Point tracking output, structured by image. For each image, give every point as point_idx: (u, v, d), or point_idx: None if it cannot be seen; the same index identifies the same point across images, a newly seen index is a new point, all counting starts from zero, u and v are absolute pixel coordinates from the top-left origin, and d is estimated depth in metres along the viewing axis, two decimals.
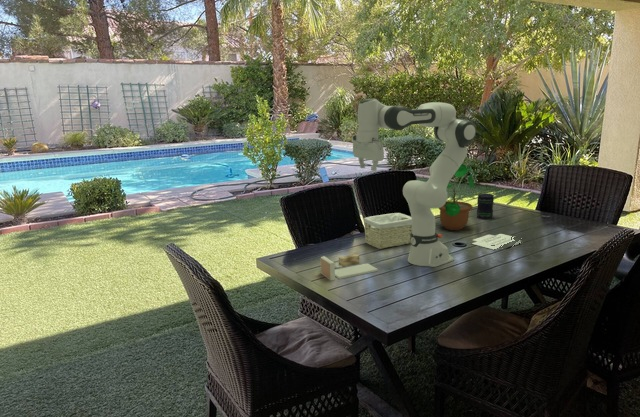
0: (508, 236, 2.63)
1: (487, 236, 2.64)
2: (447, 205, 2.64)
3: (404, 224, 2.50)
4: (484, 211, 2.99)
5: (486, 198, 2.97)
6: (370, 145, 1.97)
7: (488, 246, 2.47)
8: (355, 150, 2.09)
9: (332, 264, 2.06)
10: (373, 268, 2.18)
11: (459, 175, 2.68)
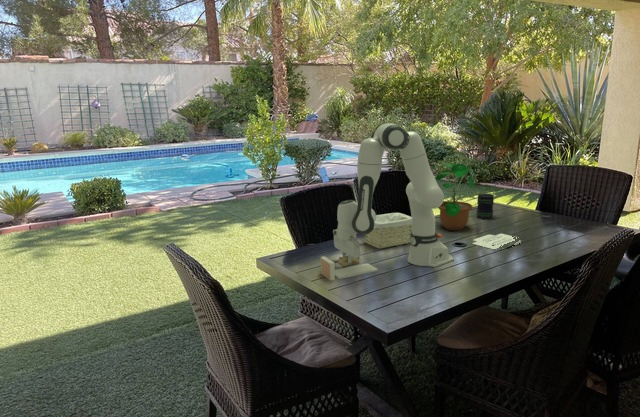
0: (508, 236, 2.63)
1: (487, 236, 2.64)
2: (447, 205, 2.64)
3: (403, 224, 2.50)
4: (484, 211, 2.99)
5: (486, 198, 2.97)
6: (348, 243, 2.19)
7: (488, 246, 2.47)
8: (336, 242, 2.31)
9: (332, 264, 2.06)
10: (373, 268, 2.18)
11: (459, 175, 2.68)
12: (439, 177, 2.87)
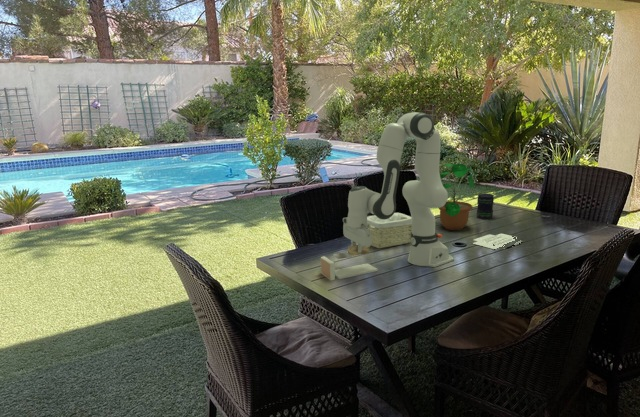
0: (509, 236, 2.63)
1: (488, 236, 2.64)
2: (447, 205, 2.64)
3: (403, 224, 2.50)
4: (484, 211, 2.99)
5: (486, 198, 2.97)
6: (359, 231, 2.09)
7: (489, 246, 2.47)
8: (345, 231, 2.21)
9: (332, 264, 2.06)
10: (373, 268, 2.18)
11: (459, 175, 2.68)
12: None
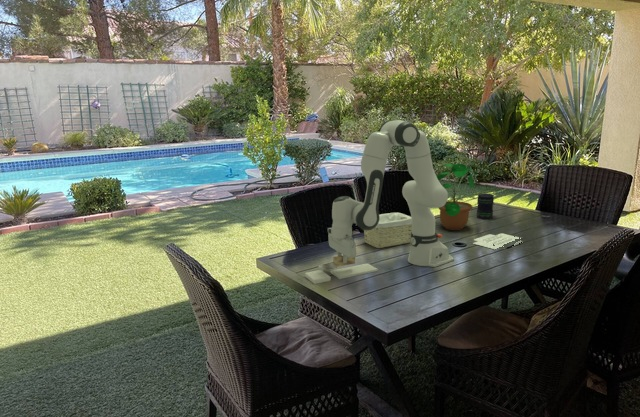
0: (509, 236, 2.63)
1: (488, 236, 2.64)
2: (447, 205, 2.64)
3: (403, 224, 2.51)
4: (484, 211, 2.99)
5: (486, 198, 2.97)
6: (343, 242, 2.07)
7: (489, 246, 2.47)
8: (330, 241, 2.19)
9: (315, 282, 2.04)
10: (373, 268, 2.18)
11: (459, 175, 2.68)
12: (439, 177, 2.87)
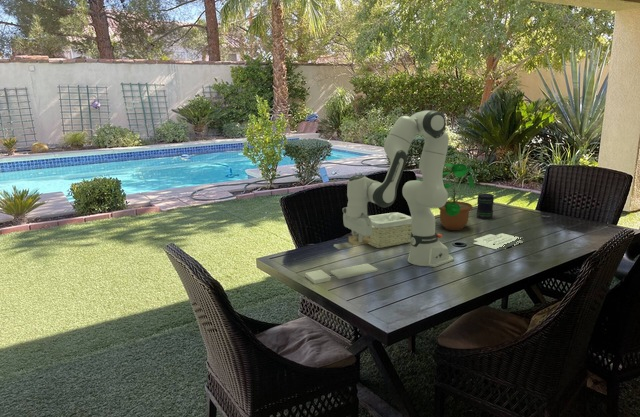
0: (509, 236, 2.64)
1: (488, 236, 2.65)
2: (447, 205, 2.64)
3: (403, 223, 2.51)
4: (484, 211, 2.99)
5: (486, 198, 2.97)
6: (359, 220, 2.07)
7: (489, 246, 2.47)
8: (345, 221, 2.19)
9: (315, 282, 2.04)
10: (373, 268, 2.18)
11: (459, 175, 2.68)
12: None
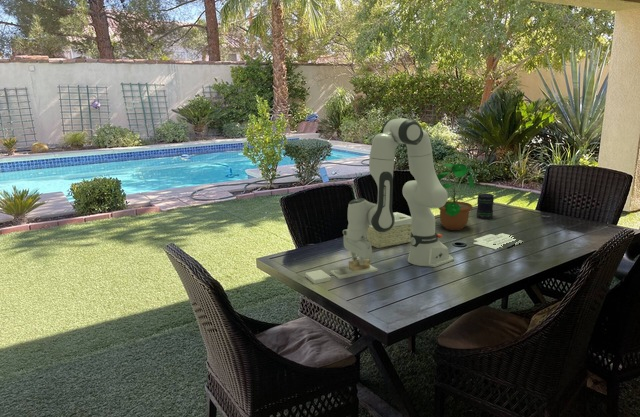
0: (508, 236, 2.64)
1: (488, 236, 2.65)
2: (447, 205, 2.64)
3: (402, 223, 2.51)
4: (484, 211, 2.99)
5: (486, 198, 2.97)
6: (359, 243, 2.09)
7: (489, 245, 2.48)
8: (345, 243, 2.21)
9: (315, 282, 2.05)
10: (373, 268, 2.18)
11: (459, 175, 2.68)
12: (439, 177, 2.87)
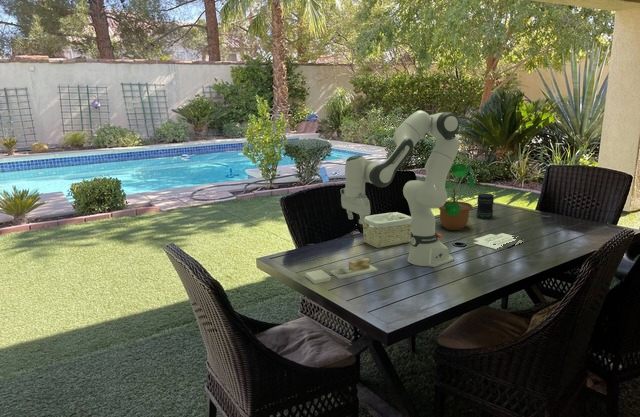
0: (510, 235, 2.64)
1: (489, 235, 2.65)
2: (447, 205, 2.64)
3: (402, 223, 2.51)
4: (484, 211, 2.99)
5: (486, 198, 2.97)
6: (357, 200, 2.08)
7: (490, 245, 2.48)
8: (343, 202, 2.20)
9: (315, 282, 2.05)
10: (373, 268, 2.18)
11: (459, 175, 2.68)
12: None
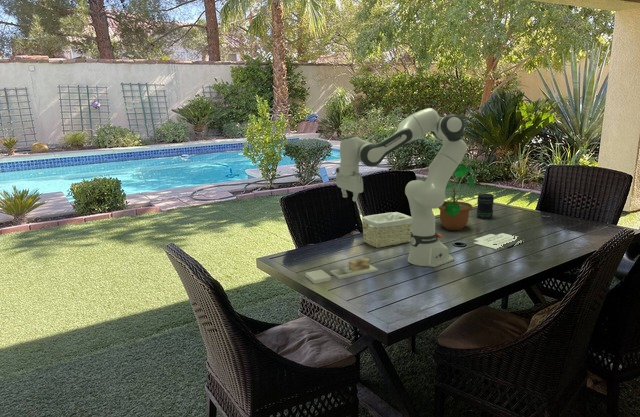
0: (510, 235, 2.64)
1: (489, 235, 2.65)
2: (447, 205, 2.64)
3: (402, 223, 2.52)
4: (484, 211, 2.99)
5: (486, 198, 2.97)
6: (351, 178, 2.17)
7: (490, 245, 2.48)
8: (338, 181, 2.29)
9: (315, 282, 2.05)
10: (373, 268, 2.18)
11: (459, 175, 2.68)
12: None
